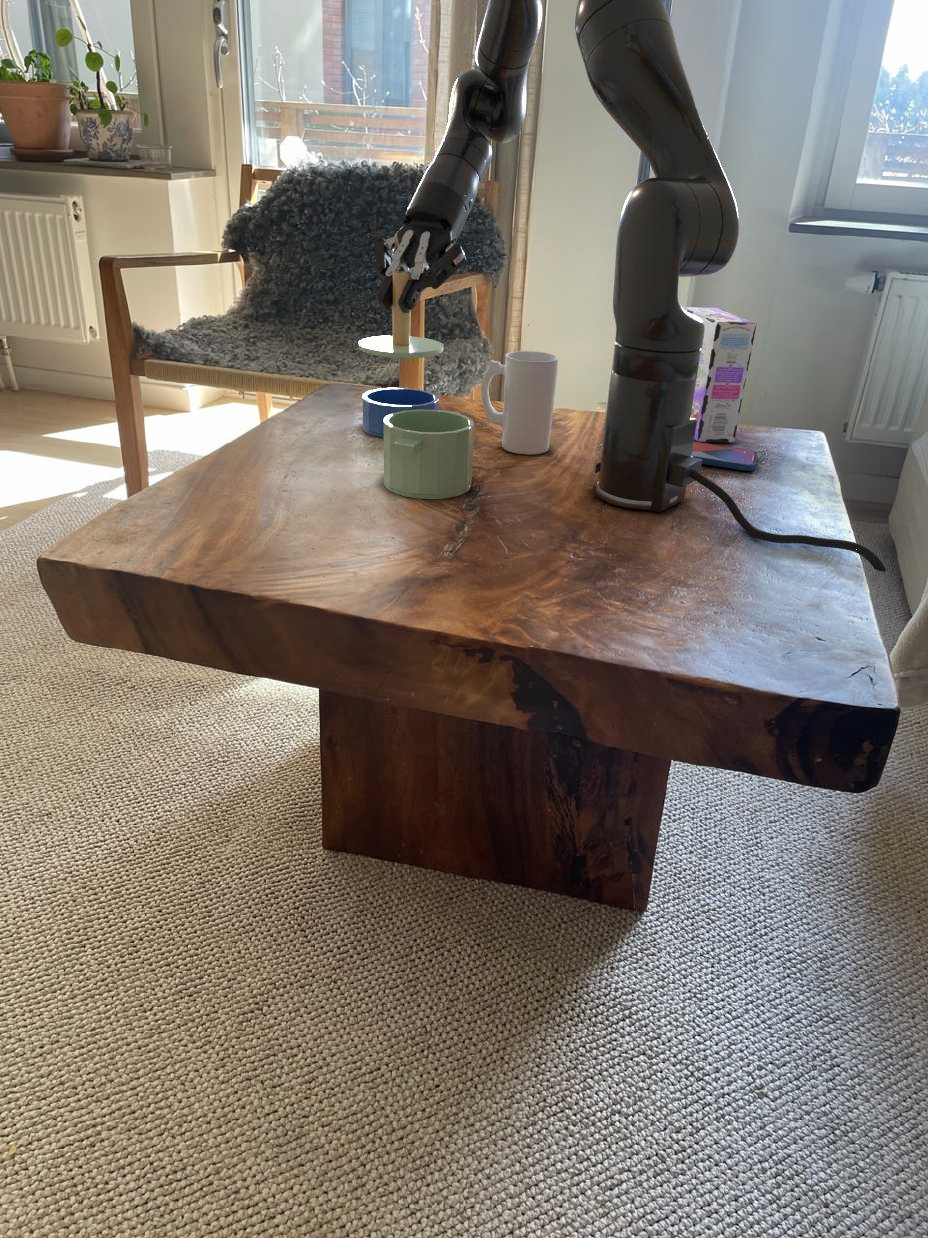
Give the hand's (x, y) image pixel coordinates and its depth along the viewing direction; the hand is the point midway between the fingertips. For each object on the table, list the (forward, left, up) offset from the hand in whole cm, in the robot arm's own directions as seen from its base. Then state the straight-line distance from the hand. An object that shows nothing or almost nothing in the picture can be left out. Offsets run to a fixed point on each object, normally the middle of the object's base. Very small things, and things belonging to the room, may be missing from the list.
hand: (393, 306), depth 115 cm
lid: (0, -2, -6) cm, 6 cm away
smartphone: (-36, -21, -17) cm, 45 cm away
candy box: (-30, -34, -17) cm, 48 cm away
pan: (0, -2, -17) cm, 17 cm away
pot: (-18, +13, -17) cm, 27 cm away
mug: (-16, -7, -17) cm, 24 cm away
